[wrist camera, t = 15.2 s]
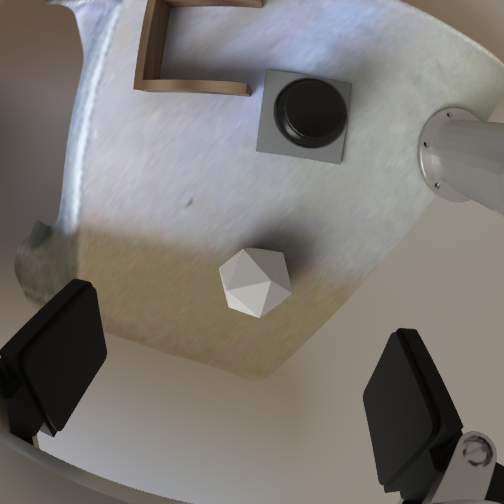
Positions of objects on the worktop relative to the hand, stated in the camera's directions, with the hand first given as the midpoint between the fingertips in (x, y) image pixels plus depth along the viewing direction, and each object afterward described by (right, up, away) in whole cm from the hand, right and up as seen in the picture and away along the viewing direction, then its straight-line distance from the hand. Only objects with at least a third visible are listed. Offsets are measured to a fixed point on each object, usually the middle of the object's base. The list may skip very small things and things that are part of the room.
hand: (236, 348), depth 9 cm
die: (+1, +1, +33) cm, 33 cm away
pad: (+6, +19, +25) cm, 31 cm away
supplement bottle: (+6, +19, +24) cm, 31 cm away
